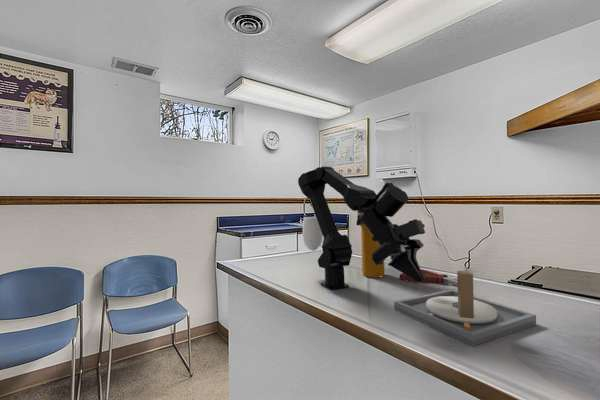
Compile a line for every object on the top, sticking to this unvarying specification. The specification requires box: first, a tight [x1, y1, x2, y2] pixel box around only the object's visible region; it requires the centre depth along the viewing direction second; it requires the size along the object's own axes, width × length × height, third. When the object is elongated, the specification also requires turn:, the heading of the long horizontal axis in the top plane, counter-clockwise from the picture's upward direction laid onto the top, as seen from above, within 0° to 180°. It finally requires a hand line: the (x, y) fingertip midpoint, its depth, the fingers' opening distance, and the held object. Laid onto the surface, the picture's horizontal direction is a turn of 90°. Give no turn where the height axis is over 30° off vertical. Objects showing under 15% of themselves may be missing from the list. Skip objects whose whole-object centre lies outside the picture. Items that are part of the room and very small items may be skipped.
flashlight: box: [357, 210, 385, 278], centre depth 104 cm, size 10×26×10 cm
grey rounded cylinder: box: [302, 216, 324, 251], centre depth 105 cm, size 7×7×21 cm
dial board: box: [393, 289, 537, 347], centre depth 67 cm, size 20×20×2 cm
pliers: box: [399, 269, 458, 287], centre depth 95 cm, size 12×20×3 cm, turn 45°
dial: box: [426, 270, 497, 324], centre depth 67 cm, size 14×14×10 cm
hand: (422, 281), depth 69 cm, fingers closed
